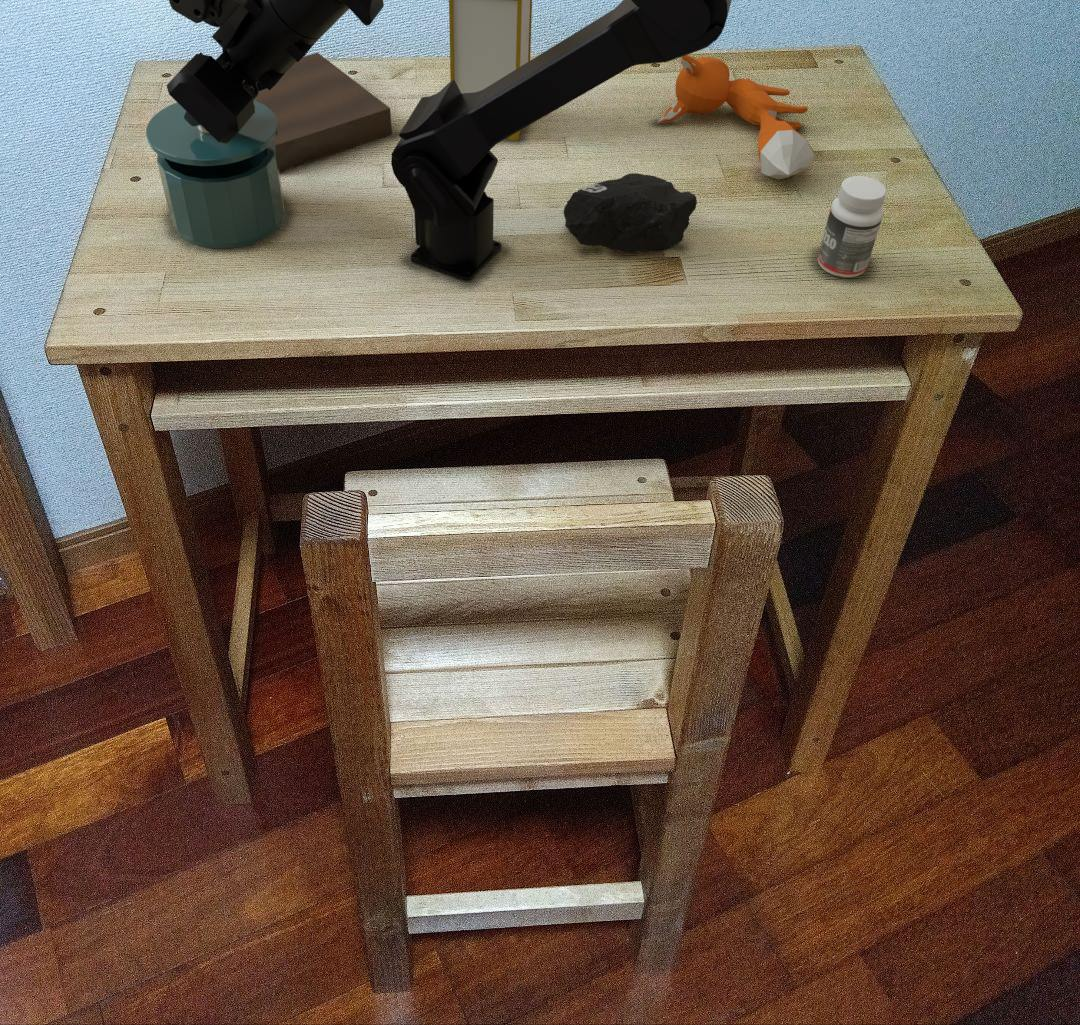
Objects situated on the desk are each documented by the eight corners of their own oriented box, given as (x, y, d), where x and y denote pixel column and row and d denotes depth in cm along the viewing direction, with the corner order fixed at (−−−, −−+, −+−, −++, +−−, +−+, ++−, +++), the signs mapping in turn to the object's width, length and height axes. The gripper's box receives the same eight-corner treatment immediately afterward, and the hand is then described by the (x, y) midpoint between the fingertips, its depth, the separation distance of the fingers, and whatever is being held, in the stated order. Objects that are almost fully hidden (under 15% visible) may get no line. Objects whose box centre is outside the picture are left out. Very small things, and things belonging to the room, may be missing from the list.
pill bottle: (813, 248, 110) (833, 171, 104) (862, 251, 110) (885, 174, 104) (820, 277, 107) (841, 199, 101) (870, 280, 107) (894, 202, 101)
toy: (779, 42, 128) (662, 31, 123) (879, 142, 114) (751, 134, 109) (754, 110, 134) (641, 102, 128) (846, 213, 120) (723, 209, 114)
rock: (621, 279, 106) (629, 225, 101) (554, 236, 110) (559, 182, 105) (693, 241, 111) (703, 188, 106) (627, 201, 115) (634, 148, 110)
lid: (298, 117, 107) (291, 63, 103) (248, 181, 99) (239, 126, 95) (183, 99, 109) (172, 45, 105) (125, 160, 101) (111, 105, 97)
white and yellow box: (440, 158, 119) (433, -81, 101) (465, 100, 127) (462, -130, 110) (508, 167, 118) (513, -73, 101) (528, 108, 127) (536, -123, 109)
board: (392, 134, 122) (390, 108, 119) (275, 173, 116) (271, 146, 113) (320, 77, 129) (317, 52, 127) (207, 111, 123) (202, 85, 121)
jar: (301, 196, 113) (292, 131, 108) (259, 257, 106) (247, 190, 101) (201, 179, 114) (188, 114, 109) (153, 238, 107) (136, 171, 102)
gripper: (265, -116, 96) (170, -2, 105) (166, -28, 83) (68, 92, 93) (362, -9, 100) (262, 91, 110) (281, 90, 88) (177, 193, 98)
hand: (195, 113), depth 102 cm, fingers closed on lid, 3 cm apart
